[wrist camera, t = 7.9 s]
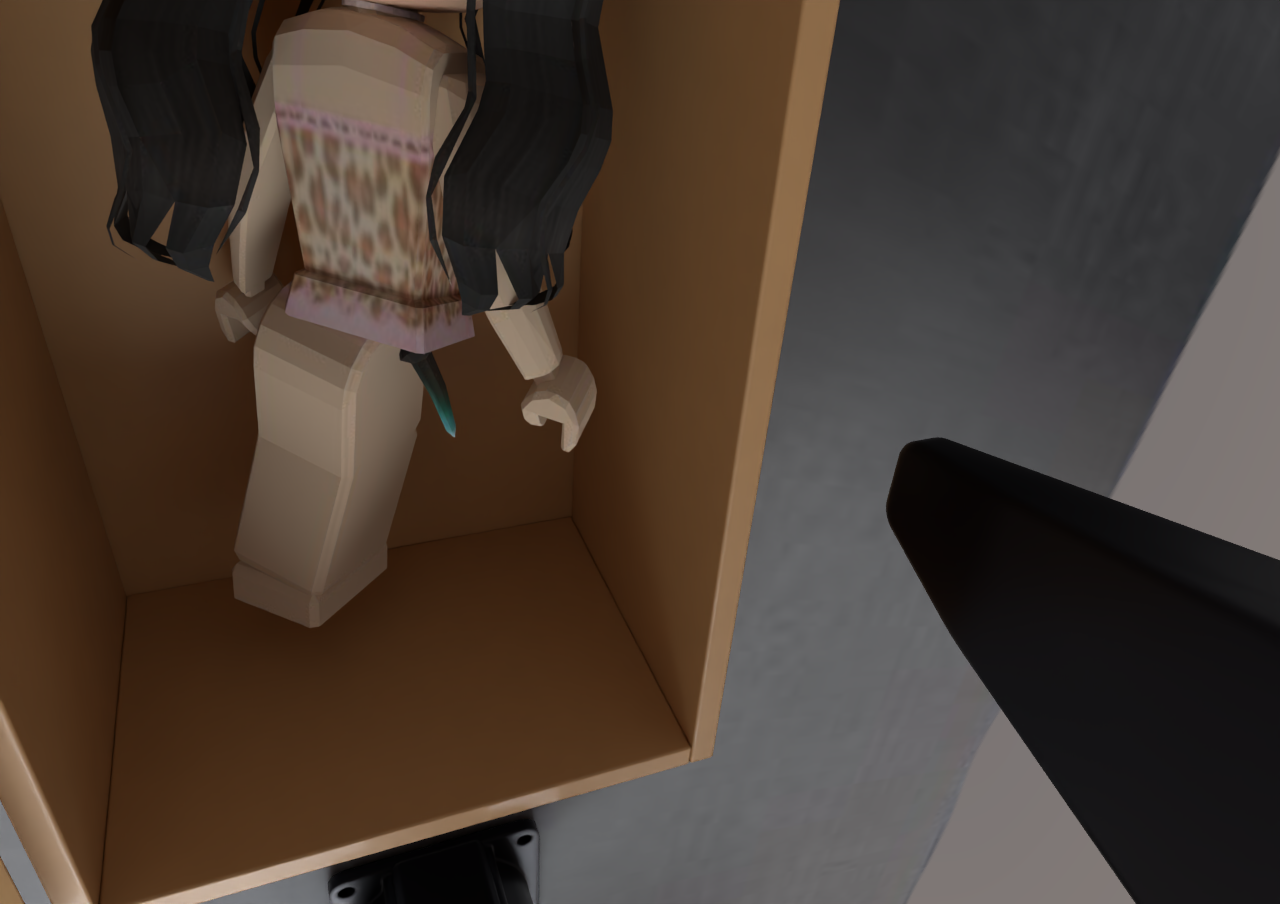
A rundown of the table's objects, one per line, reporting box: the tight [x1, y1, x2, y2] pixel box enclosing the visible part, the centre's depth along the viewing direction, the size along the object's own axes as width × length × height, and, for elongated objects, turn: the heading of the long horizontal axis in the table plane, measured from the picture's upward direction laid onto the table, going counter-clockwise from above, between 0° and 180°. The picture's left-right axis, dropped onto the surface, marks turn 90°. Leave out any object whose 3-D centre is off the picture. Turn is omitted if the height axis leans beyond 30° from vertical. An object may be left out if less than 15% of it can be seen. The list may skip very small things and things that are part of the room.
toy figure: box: [91, 0, 613, 628], centre depth 14 cm, size 7×6×15 cm
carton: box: [0, 0, 840, 904], centre depth 14 cm, size 18×11×8 cm, turn 176°
